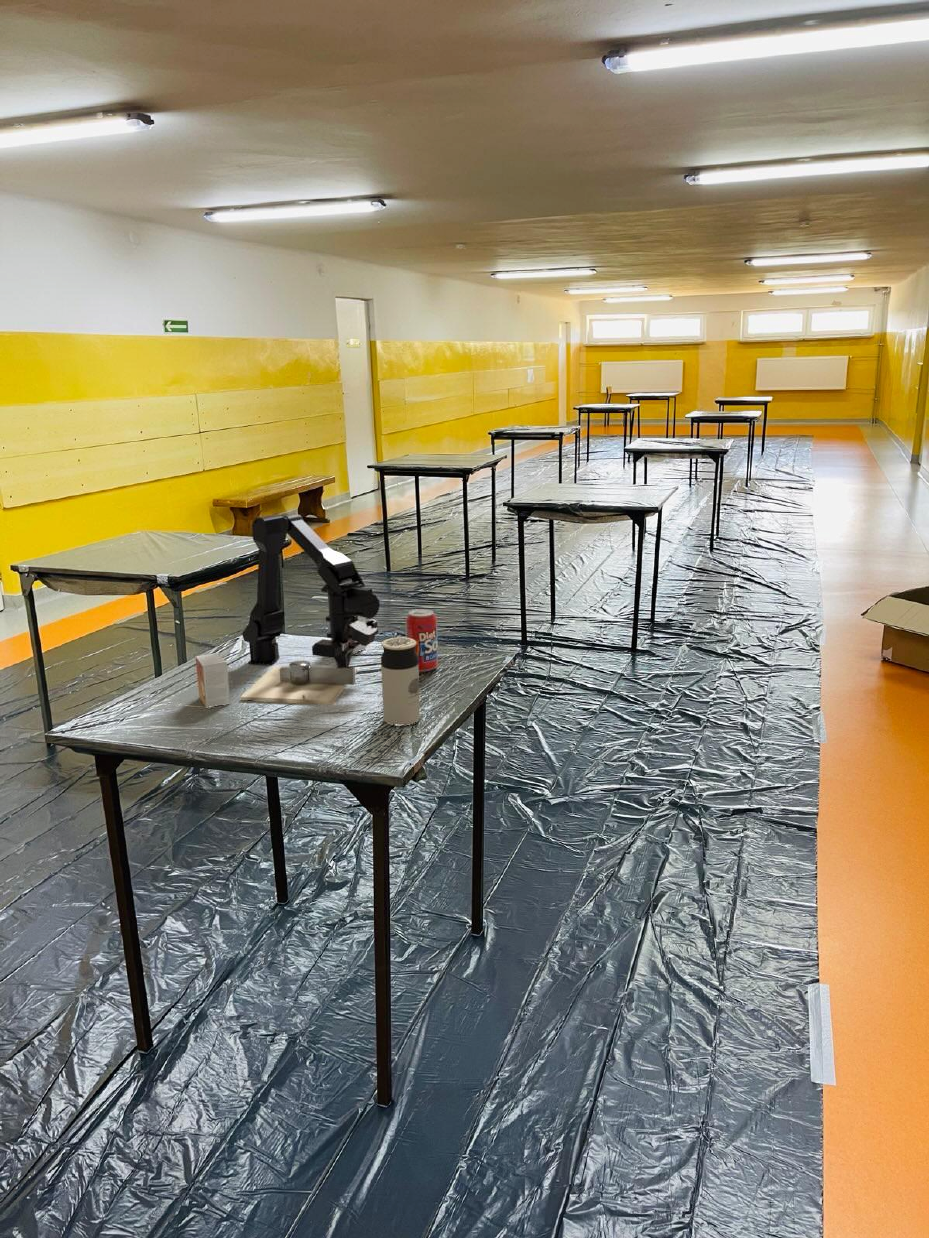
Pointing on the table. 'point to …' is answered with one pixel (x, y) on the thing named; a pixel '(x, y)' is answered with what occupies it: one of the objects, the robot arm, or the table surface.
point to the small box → (212, 679)
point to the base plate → (291, 690)
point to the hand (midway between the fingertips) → (345, 672)
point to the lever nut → (317, 674)
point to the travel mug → (400, 681)
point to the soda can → (423, 637)
